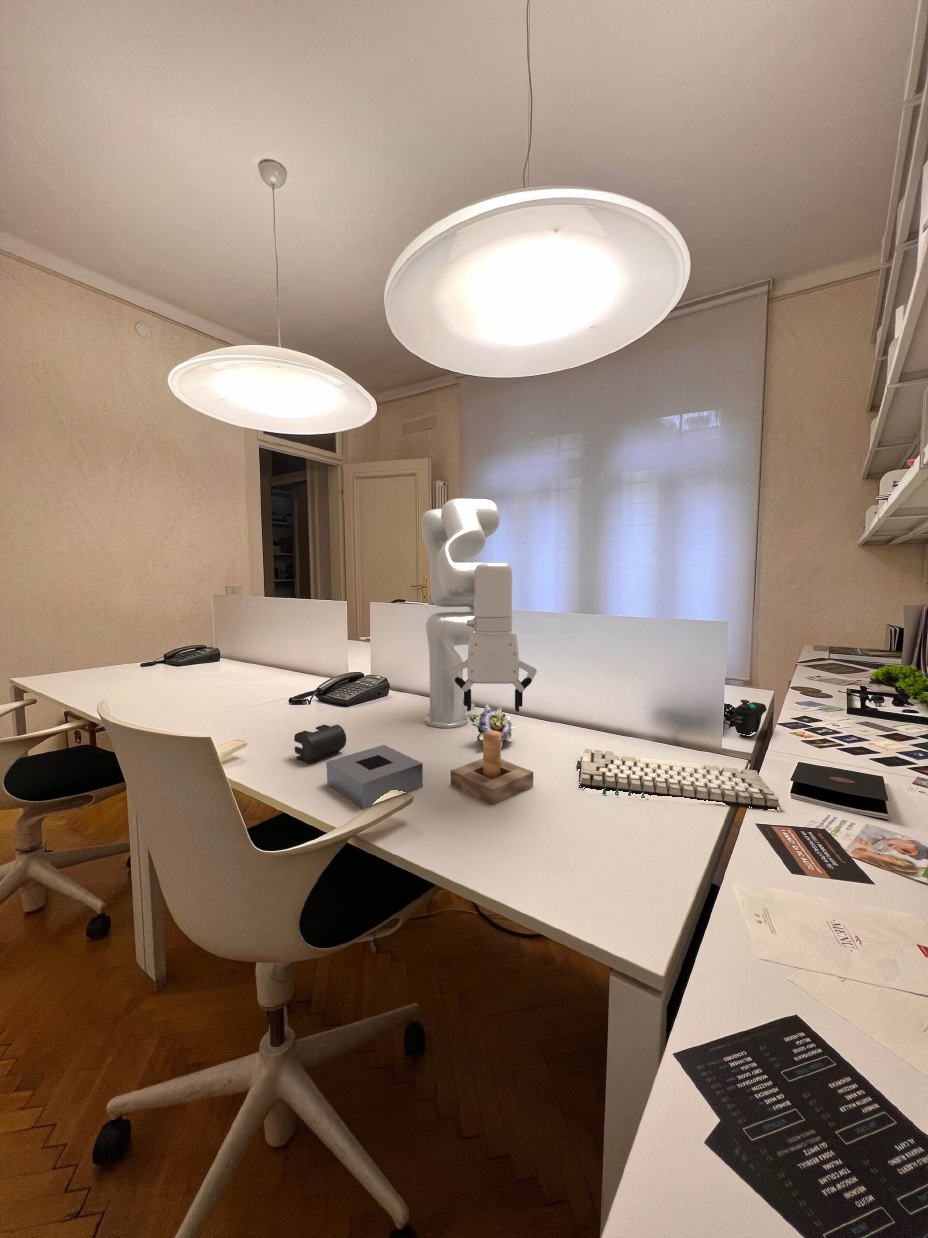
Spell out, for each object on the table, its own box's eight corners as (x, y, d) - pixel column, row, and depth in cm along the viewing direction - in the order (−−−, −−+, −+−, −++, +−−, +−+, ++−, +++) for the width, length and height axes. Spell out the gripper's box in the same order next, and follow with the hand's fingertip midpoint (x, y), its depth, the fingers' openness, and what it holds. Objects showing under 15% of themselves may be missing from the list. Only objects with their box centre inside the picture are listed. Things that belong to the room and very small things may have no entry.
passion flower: (498, 769, 124) (482, 740, 117) (470, 749, 132) (454, 720, 125) (528, 737, 128) (514, 707, 122) (499, 720, 136) (485, 690, 129)
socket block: (384, 766, 113) (384, 744, 112) (422, 786, 102) (422, 763, 102) (327, 784, 103) (326, 761, 103) (362, 809, 93) (362, 783, 92)
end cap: (312, 767, 112) (311, 738, 112) (293, 760, 116) (292, 732, 116) (347, 753, 120) (346, 726, 119) (328, 747, 124) (327, 721, 124)
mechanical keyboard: (753, 775, 109) (754, 761, 109) (786, 820, 91) (787, 802, 90) (577, 760, 118) (577, 746, 118) (574, 797, 100) (574, 781, 100)
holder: (491, 768, 112) (491, 755, 111) (533, 786, 103) (533, 772, 102) (450, 784, 104) (450, 770, 103) (492, 805, 95) (492, 789, 94)
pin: (491, 779, 106) (492, 729, 104) (504, 785, 103) (504, 733, 102) (479, 785, 103) (479, 733, 102) (491, 790, 101) (492, 738, 99)
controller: (729, 737, 131) (731, 700, 130) (750, 728, 139) (752, 693, 137) (746, 742, 128) (749, 704, 127) (767, 732, 135) (769, 696, 134)
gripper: (448, 627, 96) (448, 714, 98) (538, 627, 95) (538, 715, 97) (450, 623, 103) (451, 704, 105) (535, 623, 103) (534, 705, 104)
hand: (493, 709), depth 101 cm, fingers open, 9 cm apart
